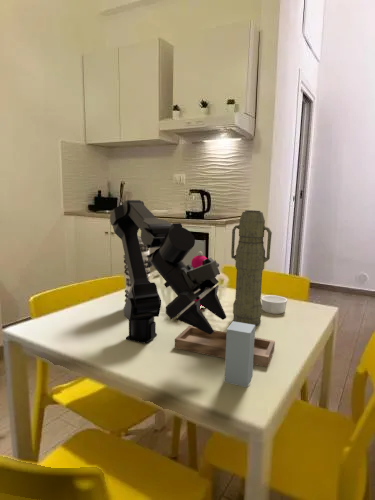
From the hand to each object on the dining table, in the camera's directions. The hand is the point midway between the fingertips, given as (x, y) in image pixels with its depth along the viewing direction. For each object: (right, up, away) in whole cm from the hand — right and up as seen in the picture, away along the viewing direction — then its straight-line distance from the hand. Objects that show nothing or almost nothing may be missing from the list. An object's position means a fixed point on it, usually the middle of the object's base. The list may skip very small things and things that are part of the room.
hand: (218, 325), depth 76 cm
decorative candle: (-24, -4, +44) cm, 50 cm away
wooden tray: (+3, -9, +15) cm, 18 cm away
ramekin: (+23, -5, +46) cm, 52 cm away
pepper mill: (-3, -4, +48) cm, 48 cm away
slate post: (+4, -12, 0) cm, 13 cm away
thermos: (+12, -6, +34) cm, 37 cm away
